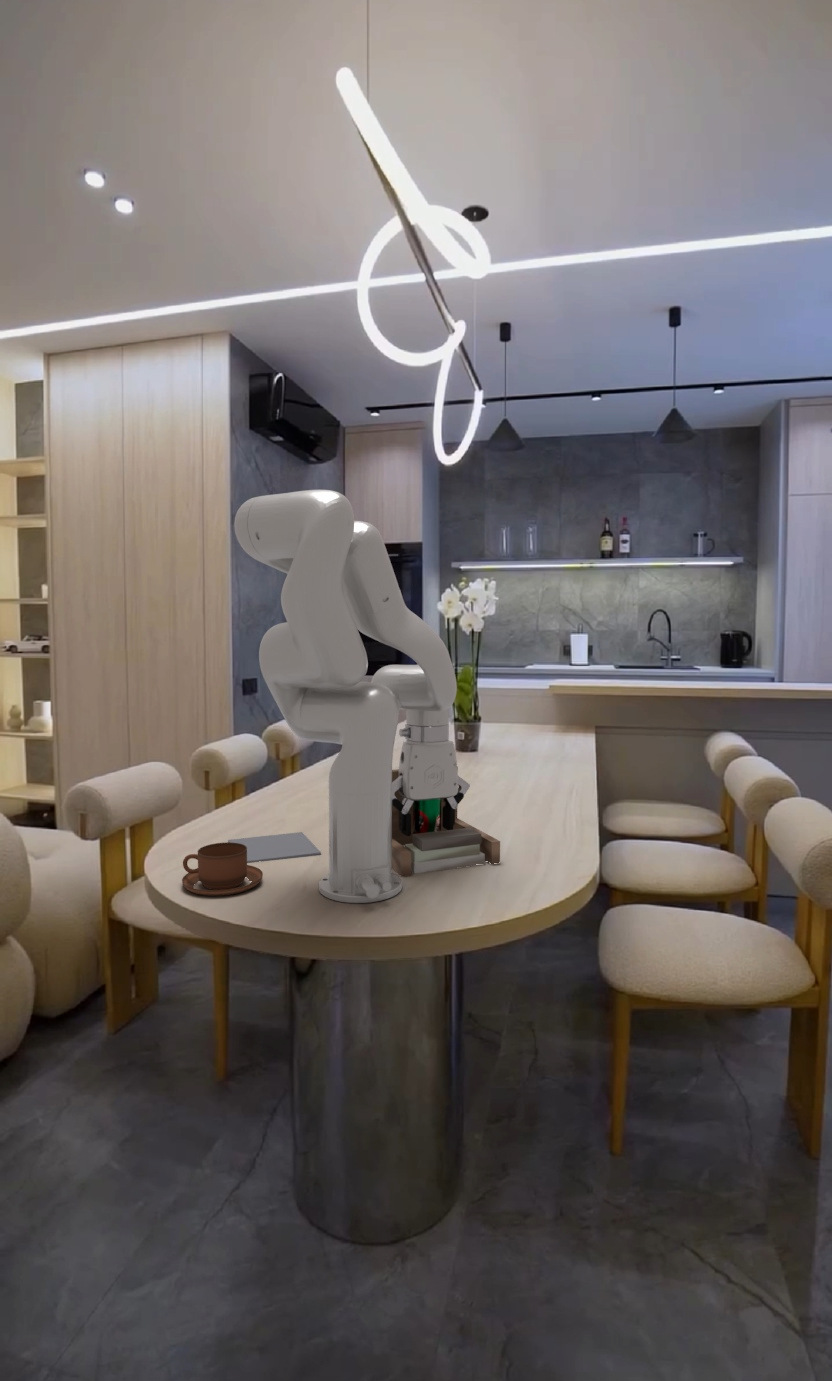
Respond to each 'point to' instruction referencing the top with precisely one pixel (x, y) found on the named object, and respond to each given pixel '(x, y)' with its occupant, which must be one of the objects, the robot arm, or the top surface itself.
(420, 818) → the soda can
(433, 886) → the top surface
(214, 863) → the cup and saucer
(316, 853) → the mat
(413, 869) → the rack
